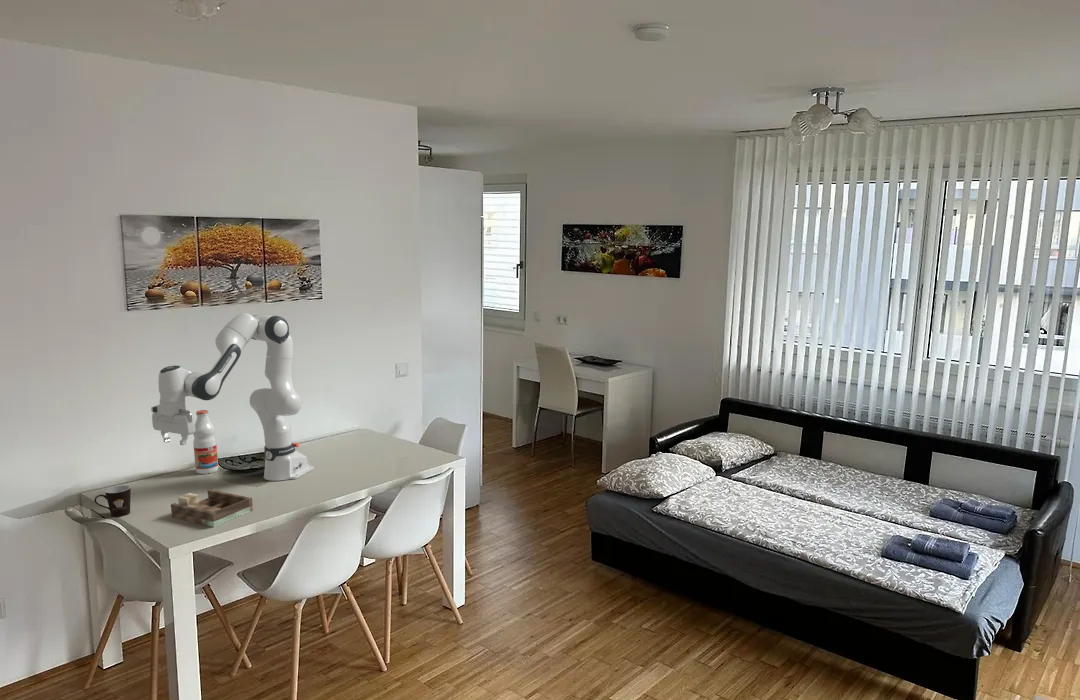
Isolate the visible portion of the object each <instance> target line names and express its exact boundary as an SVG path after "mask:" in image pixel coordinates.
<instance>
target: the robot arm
mask: <svg viewBox="0 0 1080 700" xmlns="http://www.w3.org/2000/svg"><path fill="white" fill-rule="evenodd" d="M251 339H252V340H256V341H257V340H258V341H264V342H265V343H266V347H267V349H266V357H265V364H264V365H265V367H264V368H265V369H264V374H265V375H264V376H265V377H266V378H267V380H268V381H269V384H270V387H271V388H269V387H268V388H267V387H266V388H264V387H263V388H258V389H255V390H254V391H253V392H252V393H251V394H250V396H249V405H250V407H251V409H253V410H254V411H255V413H256V414H257V416H258V418H259V421H260V423H261V426H262V430H263V436H264V437H263V438H264V446H263V447H264V448H263V449H264V452H263V453H264V456H265V459H264V460H265V462H264V473H263V474H264V475H263V480H267V481H272V482H274V481H276V482H277V481H285V480H296V479H298V478H300V477H302V476H304V475H306V474H307V473H310V472H311V471H313V470H315V467H314V466H313V465H312V464H310V463H309V461H308V457H307V456H306V455H304V453H301V452H299V451H298V450H297V449H296V448H299V447H300V443H299V442H294V443H293V442H292V431H291V425H290V424H289V423H288V422H287V421H286V419H285V417H288V416H295V415H296V414H298V413H299V412H300V410H301V408H302V399H301V396H300V395H299V394H298V392H297V391H296V390H295V386H294V382H293V376H292V375H293V363H294V362H293V359H294V341H293V338H292V336H291V335H290V327H289V323H288V321H287V320H286V319H285V318H284V317H282V316H279V315H271V314H262V315H261V314H260V315H259V314H254V315H252V314H251V313H248V312H240V313H239V314H237V315H236V316H234V317H233V318H232V319H231V320H230V321H229V322H227V324H225V325H224V326H223V328H222V329H221V330H220V331H219V333H218V334H217V336H216V338H215V347H216V349H217V350H218V351H219V352H220V356H219V358H218V359H217V361H216V362H215V364H214V365H213V366H212V368H211V369H210V370H208V371H207V372H204V373H202V372H196V371H191V370H187V369H185V368H184V367H182V366H181V365H170V366H169V365H168V366H166V367H163V368H162V369H160V371H159V373H158V384H157V385H158V392H159V396H160V397H159V404H157V405H153V406H151V409H150V411H151V412H152V415H151V423H152V424H151V425H152V427H153V430H155V431H160V434H161V436H162V438H163V443H170V442H171V437H169V435H168V433H170V434H178V435H180V436H181V440H179V445H180V446H187V440H188V438H189V436H191V435H193V434H194V433H195V423H196V421H195V418H194V416H193V414H192V413H191V411H190V410H188V409H187V410H186V408H187V407H186V397H191V398H197V399H198V400H202V401H211V400H213V399H215V398H216V397H217V396H218V395H219V393H220V391H221V389H222V386H223V383H224V382H225V380H226V378H227V377H228V376H229V374H230V373H231V371H232V370H233V368H234V367H235V365H236V364H237V362H238V360H239V359H240V357H241V354H242V351H243V349H245V347H246V346H247V344H248V343H249V342H250V341H251Z"/></svg>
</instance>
